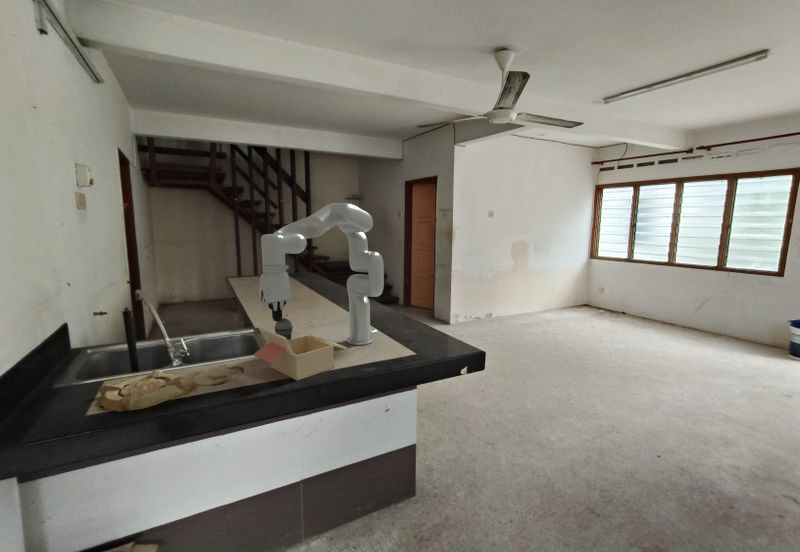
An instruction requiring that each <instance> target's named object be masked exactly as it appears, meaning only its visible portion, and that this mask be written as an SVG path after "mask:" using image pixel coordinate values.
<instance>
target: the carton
mask: <svg viewBox="0 0 800 552" xmlns="http://www.w3.org/2000/svg"><path fill="white" fill-rule="evenodd" d="M309 336H310V335H304V336H300V337H297V338H291V340H287V341H288V343H289V345H290V347H291V349H292V351H293V353H294V354H293V355H291V354H288V353H286V352H283V353H282V354H281V355H279V356H278V357H277V358H275V359H274V360H273V361H271V362H270V367H271V369H273V370H274V371H275V370H276V371H277V372H280V373H282V374H283V375H284V376H287V377H290V378H291V379H293V380H295V381H300V380H304V379H306V378H309V377H312V376H315V375H318V374H320V373H323V372H326V371H329V370H333V369H335V357H334V356H335V355H334V353H335V352H334V349H335V348H334V347H335V346H333V345H331V344H328V343H326V342H323V341H320V340H317V339H314V338H311V337H309Z"/></svg>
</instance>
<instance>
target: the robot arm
mask: <svg viewBox="0 0 800 552" xmlns="http://www.w3.org/2000/svg"><path fill="white" fill-rule="evenodd" d="M373 225H374V220H373V217H372V216H371V214H370V213H369V212H367V211H365V210H363V209H362V208H360V207H359V206H356V205H354V204H353V203H349V202H332V203H329V204H327V205H325V206H324V207H322V208H320V209H318V210H317V211H315V212H314V213H313V214H311V215H309V216H307V217H304V218H301V219H299V220H296V221H294V222H291V223H289V224H286V225H284V226H282V227H281V228H279V229H278V230H276V231H275V232H273V233H267V234H263V235H262V236H261V239H260V244H261V257H262V274H260V279H259V287H258V288H259V291H258V292H259V294H258V295H259V296H258V297H259V301H260V302H261V307H264V308H269V309H270V310H271V315H272V316H271V317H272V320H273V321H274V322H279V321H282V318H283V309H284V307H285V306H286V305H287V304H289V303H290V302H291V301H292V299H291V298H292V291H291V290H292V289H291V287H292V286H291V283H290V282H291V281H290V277H289V274H288V272H287V269H289V264H286V254H292V255H293V254H294V255H295V254H296V255H297V254H300V253H303V251H305V250H306V248H307V239H313V238H316V237H320V236H322V235H324V234H325V233H326V232H329V230H330V229H332V228H334V227H335V226H337V227H338V229H339V230H341V232H342V233H343V234H344V235H345V237H346V238H347V240H348V254H349V255H348V257H349V261H348V262H349V267H350V270H352V271H354V272H358V274H356V273H354V274H351V275H350V276H349V277H348V278H347V281H346V291H347V293H348V302H349V304H348V305H349V307H348V310H349V313H348V314H349V317H348V319H349V320H348V321H349V336H348V337H347V338H346V342H347V344H349V345H353V346H364V345H369V344H372V343H373V342H374V337H373V335H376V334H378V330H377V329H374V330H371V305H370V299H369V297H370V298H371V297H372V298H373V297H374V298H375V297H376V298H377V297H380V296H381V295H382V294H383V290H384V287H385V286H384V285H385V282H384V280H385V275H384V271H385V270H384V259H383V256H382V255H381V254H380V253H379V252H377V251H373V250H372V251H371V250H369V247H368V246H369V245H368V244H369V243H368V238H367V236H366V233H368V232H370V230H371V229H373ZM359 272H360V273H359ZM361 273H368V274H361Z"/></svg>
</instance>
